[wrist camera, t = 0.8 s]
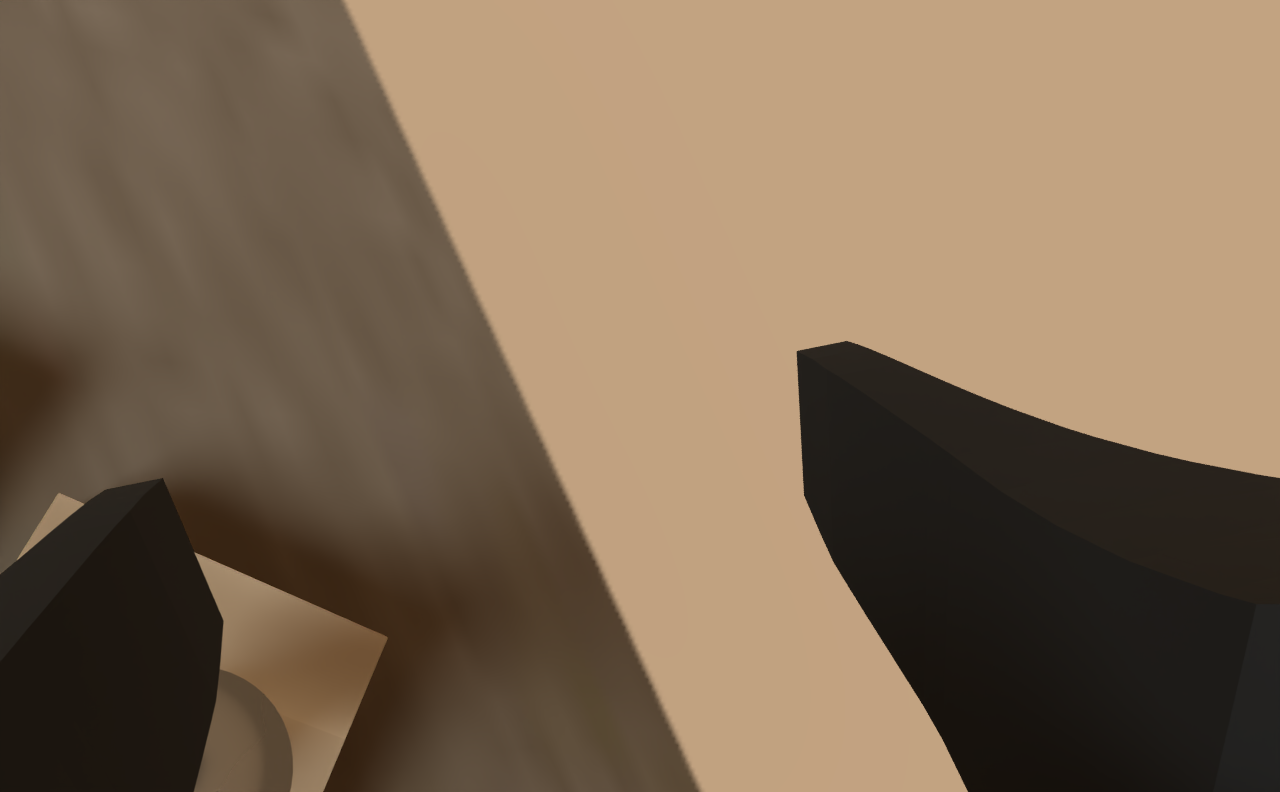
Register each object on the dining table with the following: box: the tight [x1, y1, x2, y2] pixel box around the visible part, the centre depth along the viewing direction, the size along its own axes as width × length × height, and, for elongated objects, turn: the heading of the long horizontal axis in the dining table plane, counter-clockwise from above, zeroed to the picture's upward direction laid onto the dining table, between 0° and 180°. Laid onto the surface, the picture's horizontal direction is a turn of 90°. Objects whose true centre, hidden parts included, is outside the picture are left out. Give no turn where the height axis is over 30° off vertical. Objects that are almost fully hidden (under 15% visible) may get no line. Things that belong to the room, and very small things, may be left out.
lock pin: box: [194, 669, 293, 792], centre depth 18 cm, size 3×3×8 cm
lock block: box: [16, 493, 388, 792], centre depth 20 cm, size 8×7×3 cm
